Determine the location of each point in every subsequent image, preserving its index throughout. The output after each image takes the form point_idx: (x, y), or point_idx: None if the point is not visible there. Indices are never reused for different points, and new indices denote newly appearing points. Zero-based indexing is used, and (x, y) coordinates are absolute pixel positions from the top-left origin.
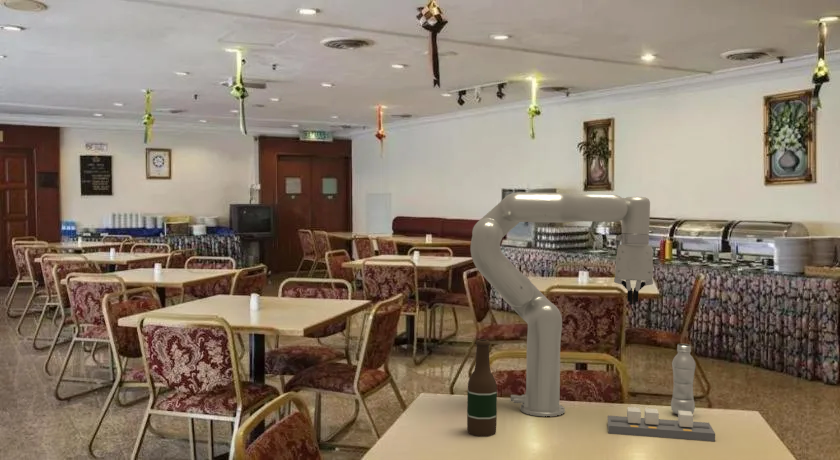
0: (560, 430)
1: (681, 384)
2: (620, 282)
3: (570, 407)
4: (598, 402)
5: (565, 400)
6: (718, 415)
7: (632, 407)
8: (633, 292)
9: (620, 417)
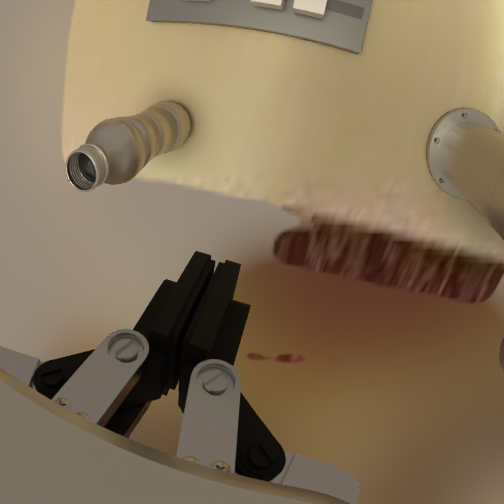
0: (462, 19)
1: (148, 117)
2: (293, 469)
3: (403, 178)
4: (328, 215)
5: (393, 231)
6: None
7: (311, 9)
8: (179, 330)
9: (333, 36)
